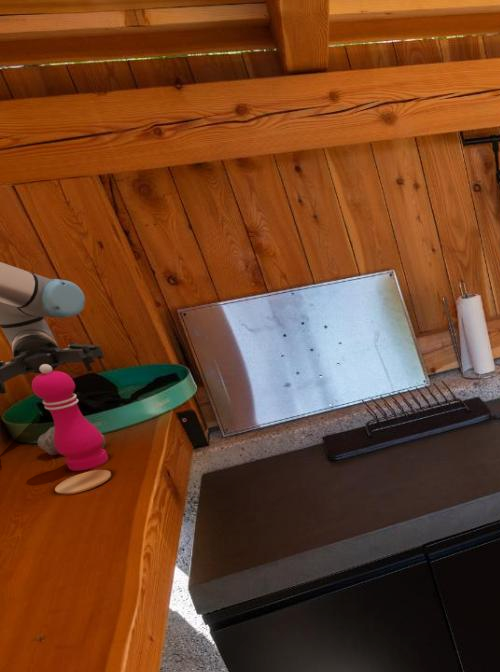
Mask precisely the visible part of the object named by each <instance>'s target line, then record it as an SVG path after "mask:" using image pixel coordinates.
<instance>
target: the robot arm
mask: <svg viewBox="0 0 500 672" xmlns="http://www.w3.org/2000/svg"><path fill="white" fill-rule="evenodd" d="M85 305H86V297H85V294H84V292H83V290H82V289H81V288H80V287H79V286H78V285H77V284H76V283H74V282H72V281H70V280H66V279H61V278H53V279H52V278H49V277H46V276H43V275H39V274H37V273H33V272H31V271H27V270H25V269H22V268H19V267H16V266H14V265H10V264H7V263H5V262H2V261H0V328H1V331H2V332H3V334H4V336H5V338H6V340H7V341H8V343H9V345H10V347H11V351H12V352H11V353H12V355H13V357H12V358H10V361H7V362H5V361H4V360H1V359H0V395H5V394H6V393H7V390H6V385H5V382H8V381H10V380H12V379H14V378H15V377H18V376H22V375H28V374H29V373H32V374H42V372H41V371H40V370H39V368H40V366H41V365H43V364H48V365H50V366H51V367H52V371H55V369H57V368H58V367H59V366H65V365H66V364H70V363H71V364H73V363H83V365H84V367H85V369H86V370H87V372H92V371H93V368H92V366H91V364H93V363H95V362H96V360H95V359H97V360H102V359H104V358H105V355H104V352H103V350H102V348H101V346H100V345H99V344H87V343H86V344H85V343H77V342H75V341H74V342H69V343H68V344H67V347H66V348H62V347H60V346H59V345H58V343H57V339H56V337H55V335H54V333H53V331H52V330H51V329H50V326H49V325H48V323H47V321H46V319H45V318H57V319H63V318H70V317H71V318H72V317H74V316H77V315H79V314H80V313H81V312H82V311H83V310H84V308H85Z"/></svg>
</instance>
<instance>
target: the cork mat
mask: <svg viewBox="0 0 500 672" xmlns="http://www.w3.org/2000/svg"><path fill="white" fill-rule="evenodd" d="M111 477H112V472H111V471H110V470H107V469H95V470H90V471H89V470H88V471H84V472H83V473H82V472H81V473H79V474H76V475H73V476H71V477H68V478H66V479H65V480H62V481H61V482H60V483H59V484H57V485H56V486H55V488H54V491H55V493H56V494H58V495H62V496H64V495H65V496H66V495H75V494H79V493H83V492H86V491H88V490H92V489H94V488H97V487H98V486H100V485H103V484H104V483H106V482H107V481H109V480H110V478H111Z"/></svg>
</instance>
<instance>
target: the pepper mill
mask: <svg viewBox="0 0 500 672" xmlns="http://www.w3.org/2000/svg"><path fill="white" fill-rule="evenodd" d="M39 370H40V371H41V372H42V373H38V375H36V376H35V377H34V378H33V379H32V381H31V390H32V392H33V393H34V395H35V396H36V397H38V398H39V399H42V402H41V403H42V404H43V405H44V409H45V410H48V411H49V413H50V414H51V417H52V420H53V426H55V432H54V445H55V447H56V450H57V452H58V453H60V454H59V455H61V456H64V457H66V458H65V460H64V461H65V463H66V466H67V468H68V469H69V470H70V471H73V472H74V471H75V472H79V471H88V470H92V469H94V468H98V467H100V466H101V465H103V464H104V463H106V462H107V461H108V460H109V456H108V454H107V452H106V451H107V450H106V449H104V448H102V449H101V447H102V445H103V442H104V439H103V437H102V435H101V434H102V433H101V432H100V430H98V428H97V427H96V426H95V425H93V424H92V423H91V422H90V421H89V420H87V418H86V417H85V416H84V415H83V414H82V413H83V412H81V409H80V408H79V405H78V403H79V399H78V398H77V394H76V393H74V391H75V389H76V384H75V381H74V380H73V378H72V376H70V375H69V374H68V373H66V372H63V371H58V370H52V367H51V366H50V365H48V364H43V365H41V366H40V368H39Z"/></svg>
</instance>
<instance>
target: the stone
mask: <svg viewBox="0 0 500 672" xmlns="http://www.w3.org/2000/svg"><path fill="white" fill-rule="evenodd" d="M54 432H55V425H53V426H51V427H50V428H48V430H47V431H46V432H44V433H43V434H41V435H39V437H38V439H37V446H38V447H39V448H40V449H41V450H43V451H45V452H46V453H47V454H48V455H50V456H59V455H61V454H60V453H58V452H57V450H56V447H55V445H54ZM101 435H102V437H103V439H104V442H103V445H102V447H101V449H104V448H105V446H106V437H105V436H104V434H102V433H101Z"/></svg>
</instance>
